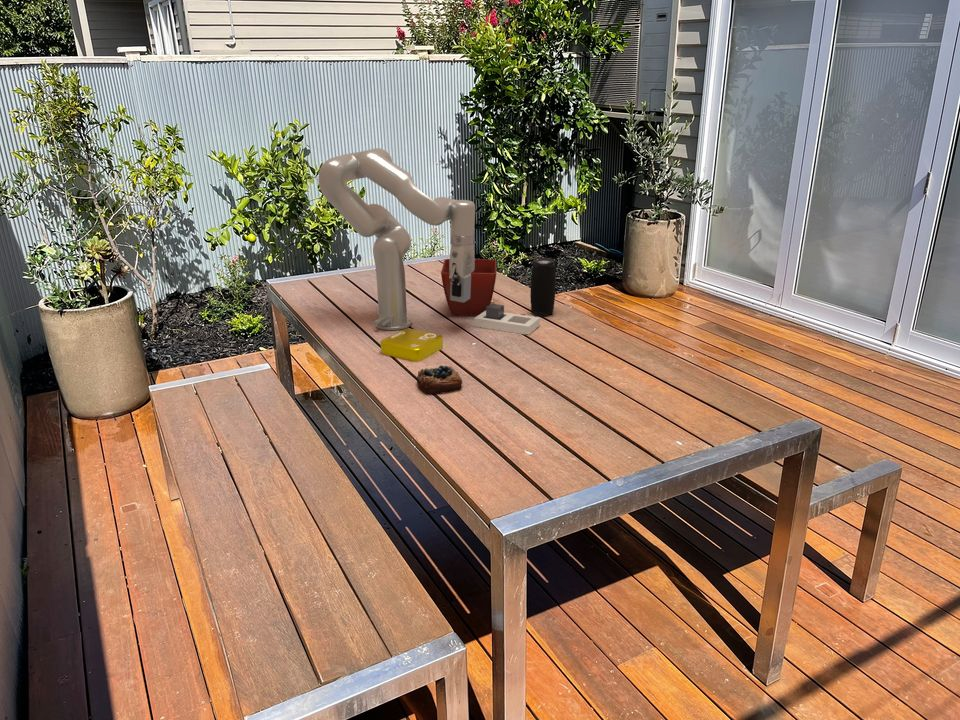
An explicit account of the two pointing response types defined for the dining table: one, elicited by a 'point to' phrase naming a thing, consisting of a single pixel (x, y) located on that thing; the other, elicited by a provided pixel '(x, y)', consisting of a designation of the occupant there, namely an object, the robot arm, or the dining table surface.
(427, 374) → the pastry
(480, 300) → the plant pot
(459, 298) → the plug
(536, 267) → the portable speaker
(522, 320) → the power strip
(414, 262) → the dining table surface
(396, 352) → the element tile
